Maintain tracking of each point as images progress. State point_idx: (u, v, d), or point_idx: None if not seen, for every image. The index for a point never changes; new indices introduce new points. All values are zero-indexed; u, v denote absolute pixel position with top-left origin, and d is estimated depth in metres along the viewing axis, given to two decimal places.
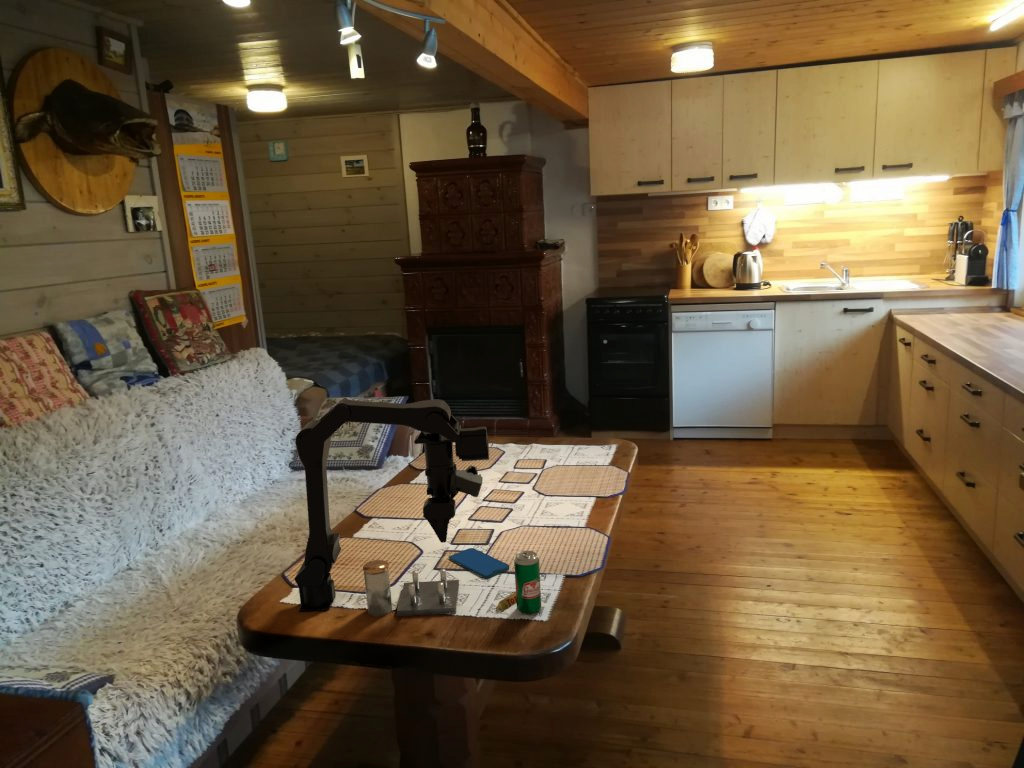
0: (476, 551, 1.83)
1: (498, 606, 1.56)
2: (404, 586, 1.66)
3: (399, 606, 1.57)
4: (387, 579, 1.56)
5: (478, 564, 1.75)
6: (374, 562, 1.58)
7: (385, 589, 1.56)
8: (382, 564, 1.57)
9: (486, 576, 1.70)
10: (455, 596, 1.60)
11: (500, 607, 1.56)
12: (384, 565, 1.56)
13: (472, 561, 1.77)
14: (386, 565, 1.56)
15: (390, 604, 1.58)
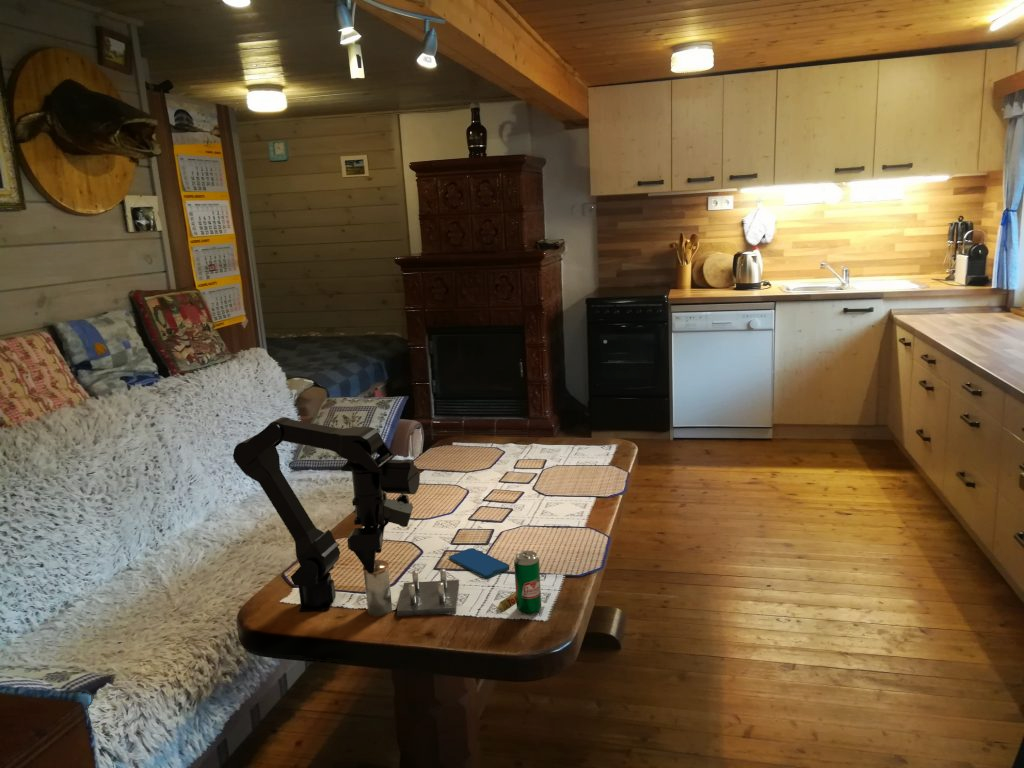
0: (476, 551, 1.83)
1: (499, 606, 1.56)
2: (404, 586, 1.66)
3: (399, 606, 1.57)
4: (387, 579, 1.56)
5: (478, 564, 1.76)
6: None
7: (385, 589, 1.56)
8: (382, 564, 1.57)
9: (486, 576, 1.70)
10: (455, 596, 1.60)
11: (501, 607, 1.56)
12: (384, 565, 1.56)
13: (472, 561, 1.77)
14: (386, 565, 1.56)
15: (390, 604, 1.58)
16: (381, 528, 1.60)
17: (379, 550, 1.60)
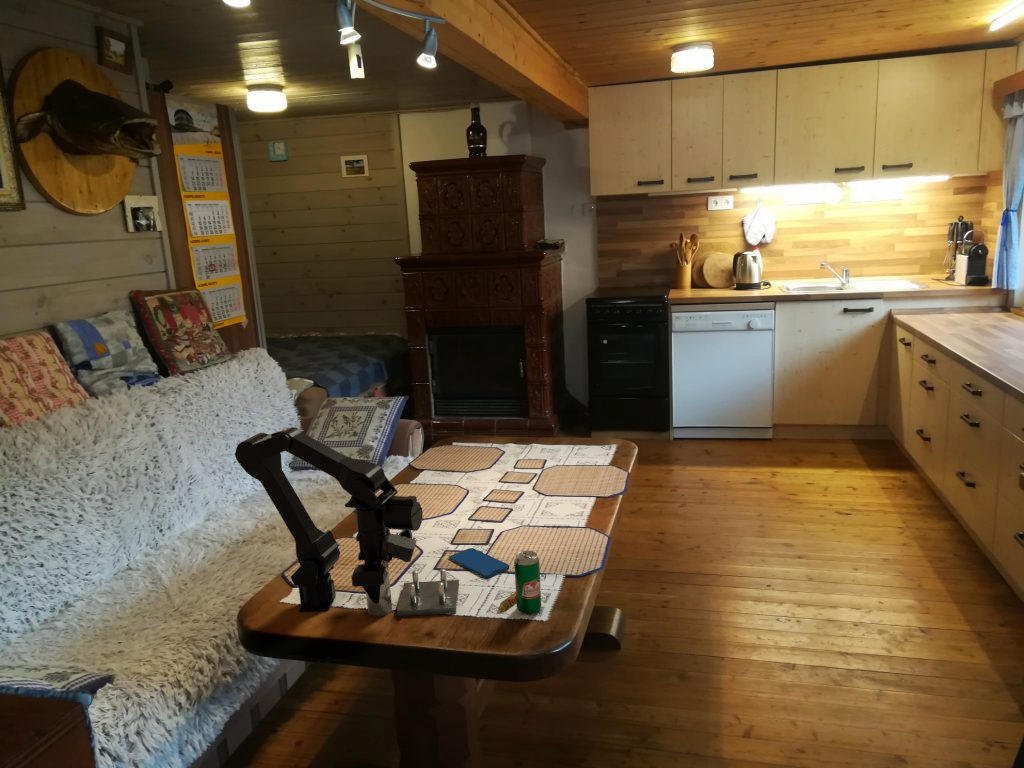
0: (476, 551, 1.83)
1: (500, 607, 1.56)
2: (404, 586, 1.66)
3: (399, 606, 1.57)
4: (387, 579, 1.56)
5: (478, 564, 1.75)
6: None
7: (385, 589, 1.56)
8: (382, 564, 1.57)
9: (486, 576, 1.70)
10: (455, 596, 1.60)
11: (502, 608, 1.56)
12: (384, 565, 1.56)
13: (472, 561, 1.77)
14: (386, 565, 1.56)
15: (390, 604, 1.58)
16: None
17: None
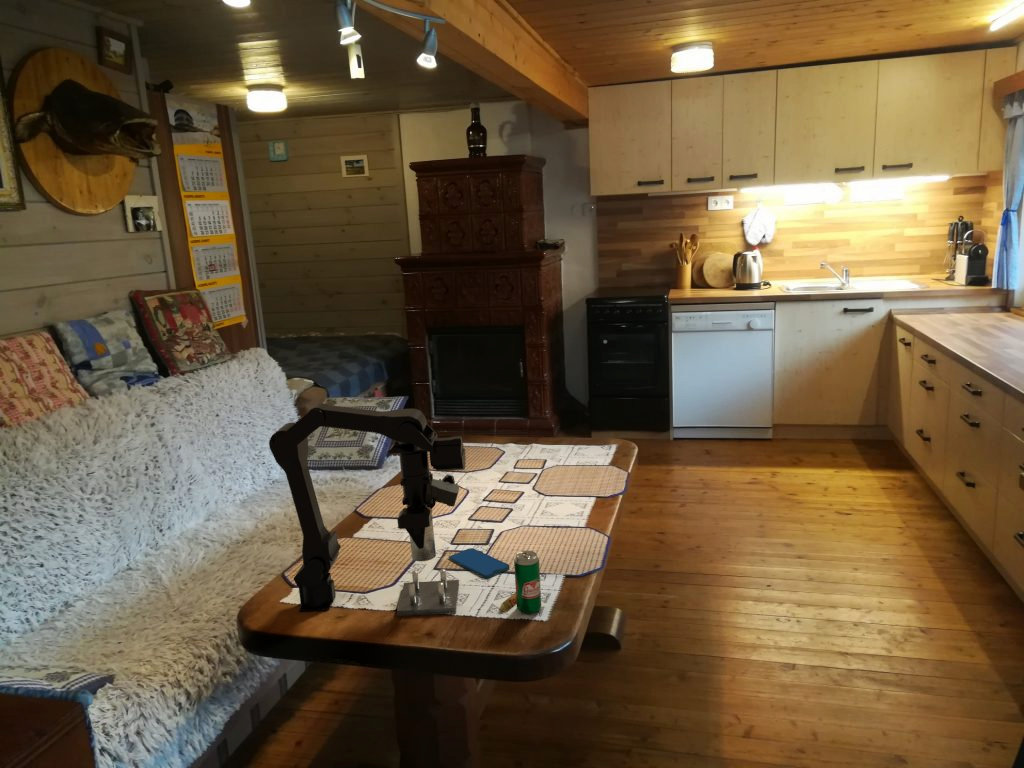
0: (476, 551, 1.83)
1: (501, 607, 1.56)
2: (404, 586, 1.66)
3: (399, 606, 1.57)
4: (431, 524, 1.56)
5: (478, 564, 1.75)
6: None
7: (429, 534, 1.56)
8: None
9: (486, 576, 1.70)
10: (455, 596, 1.60)
11: (503, 608, 1.56)
12: None
13: (472, 561, 1.77)
14: (430, 510, 1.57)
15: (434, 550, 1.58)
16: None
17: None
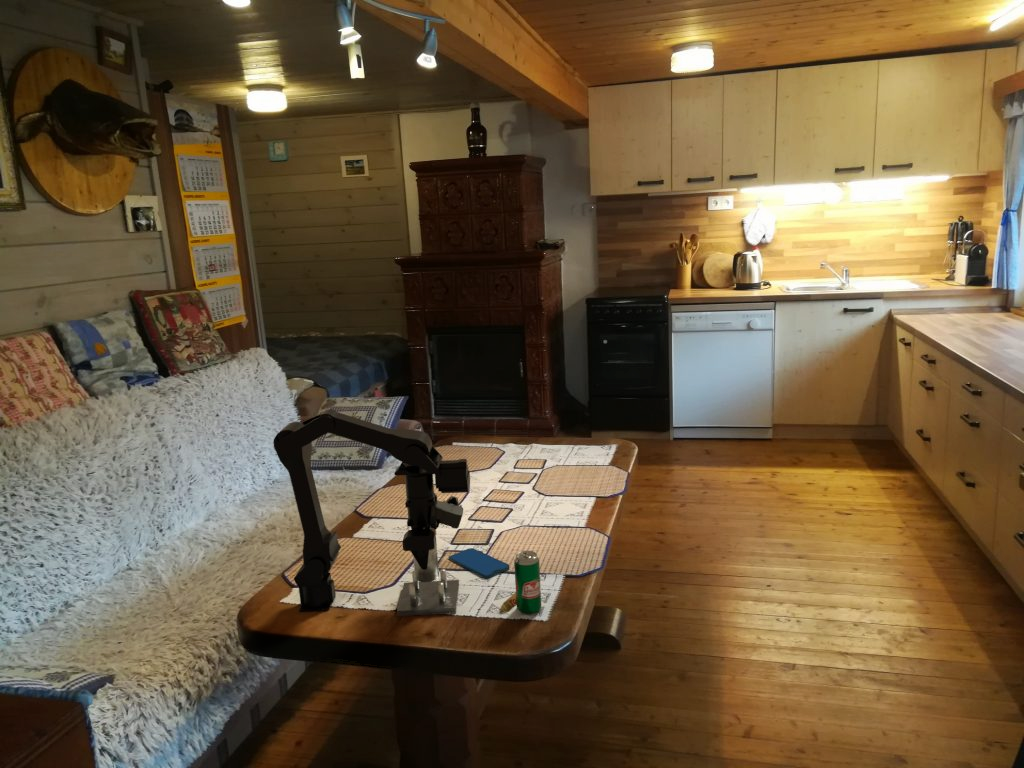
0: (476, 551, 1.83)
1: (502, 607, 1.56)
2: (404, 586, 1.66)
3: (399, 606, 1.57)
4: (435, 545, 1.58)
5: (478, 564, 1.76)
6: None
7: (433, 555, 1.58)
8: None
9: (486, 576, 1.70)
10: (455, 596, 1.60)
11: (504, 608, 1.56)
12: None
13: (472, 561, 1.77)
14: None
15: (437, 570, 1.59)
16: None
17: None
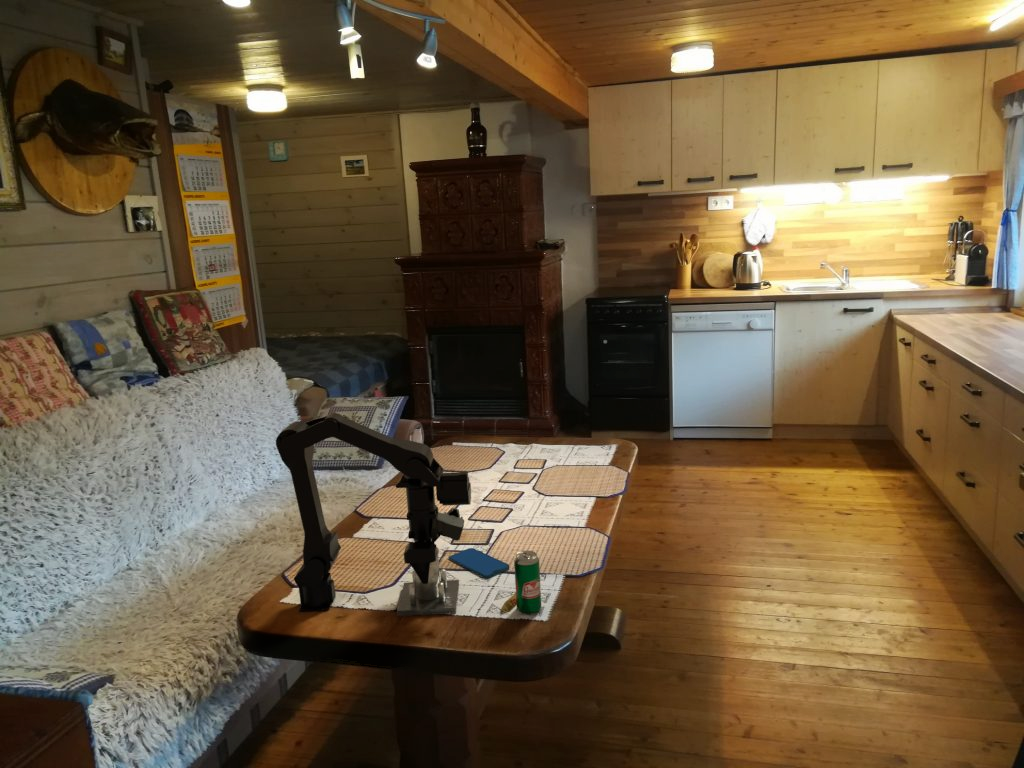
0: (476, 551, 1.83)
1: (503, 608, 1.56)
2: (404, 586, 1.66)
3: (399, 606, 1.57)
4: (437, 564, 1.59)
5: (478, 564, 1.75)
6: None
7: (435, 573, 1.59)
8: None
9: (486, 576, 1.70)
10: (455, 596, 1.60)
11: (505, 608, 1.55)
12: None
13: (472, 561, 1.77)
14: None
15: None
16: None
17: None
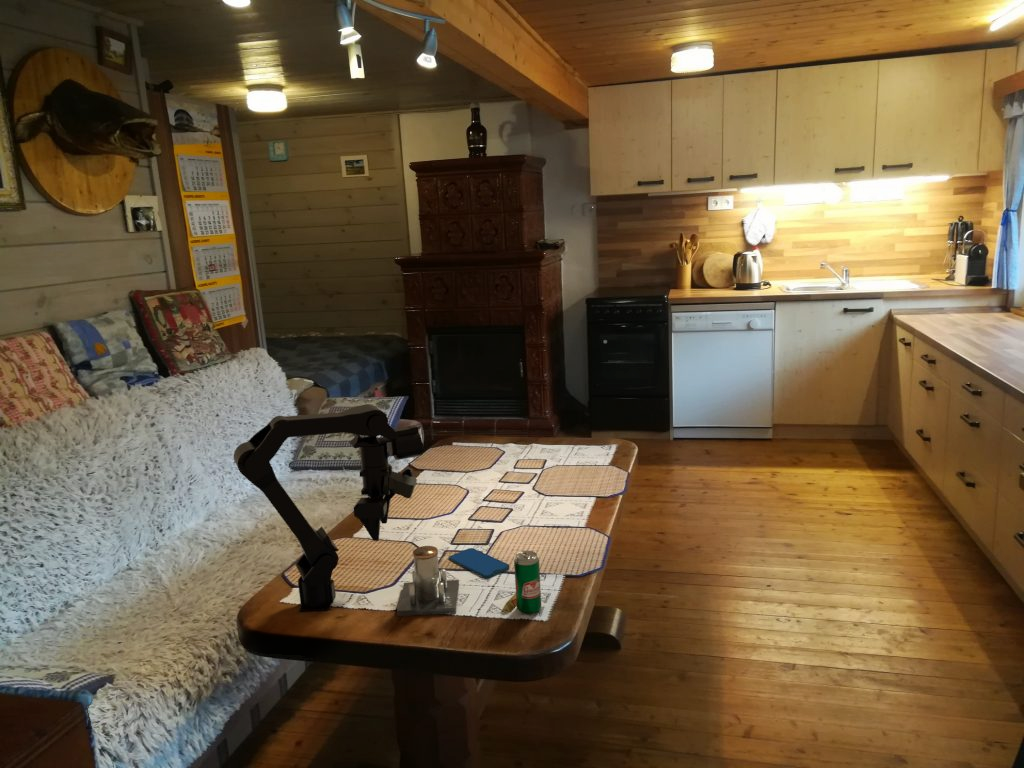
0: (476, 551, 1.83)
1: (504, 608, 1.55)
2: (404, 586, 1.66)
3: (399, 606, 1.57)
4: (436, 564, 1.59)
5: (478, 564, 1.75)
6: (423, 548, 1.61)
7: (435, 574, 1.59)
8: (431, 549, 1.60)
9: (486, 576, 1.70)
10: (455, 596, 1.60)
11: (507, 609, 1.55)
12: (433, 550, 1.59)
13: (472, 561, 1.77)
14: (435, 550, 1.59)
15: None
16: (387, 500, 1.70)
17: (385, 521, 1.70)
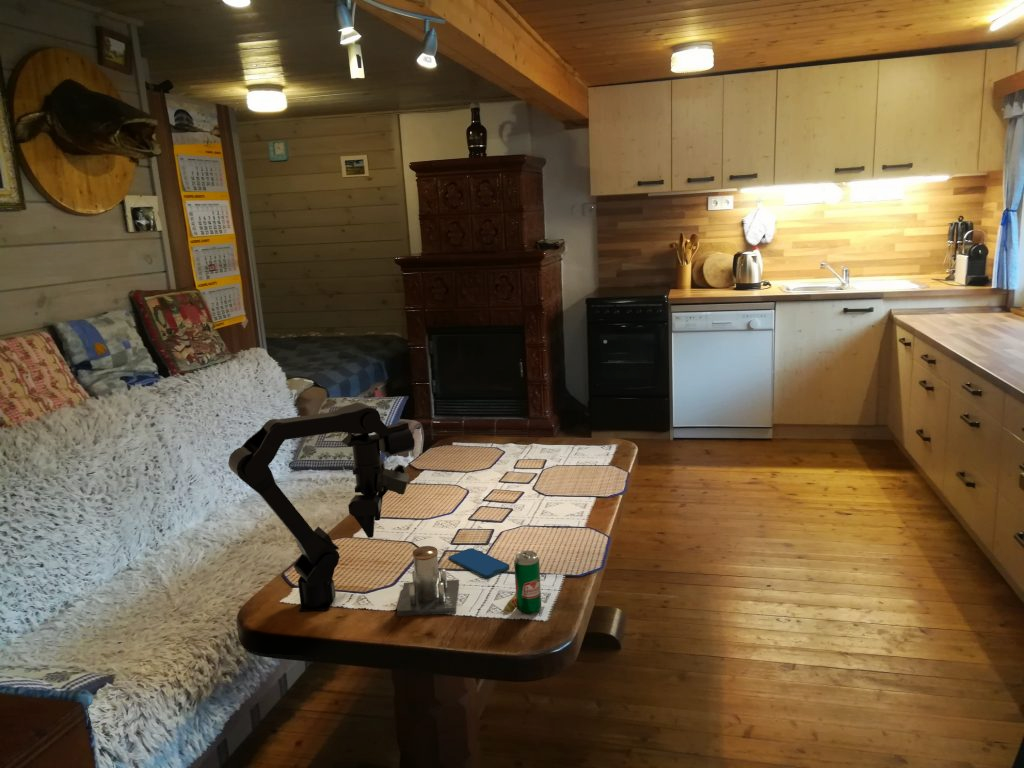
0: (476, 551, 1.83)
1: (505, 608, 1.55)
2: (404, 586, 1.66)
3: (399, 606, 1.57)
4: (436, 564, 1.59)
5: (478, 564, 1.75)
6: (423, 548, 1.60)
7: (435, 574, 1.58)
8: (431, 549, 1.60)
9: (486, 576, 1.70)
10: (455, 596, 1.60)
11: (508, 609, 1.55)
12: (433, 550, 1.59)
13: (472, 561, 1.77)
14: (435, 551, 1.59)
15: None
16: (380, 497, 1.71)
17: (378, 518, 1.72)
